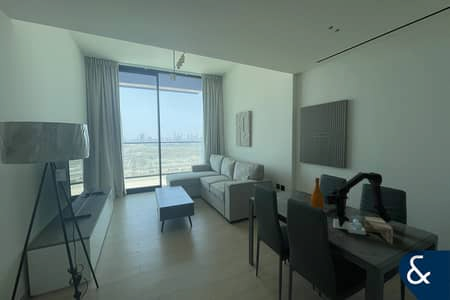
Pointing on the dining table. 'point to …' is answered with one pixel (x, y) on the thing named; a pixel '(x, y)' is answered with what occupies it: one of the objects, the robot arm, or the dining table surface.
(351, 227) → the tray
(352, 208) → the dining table surface
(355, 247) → the dining table surface
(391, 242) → the cream wedge slab
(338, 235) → the dining table surface
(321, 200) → the wine bottle
